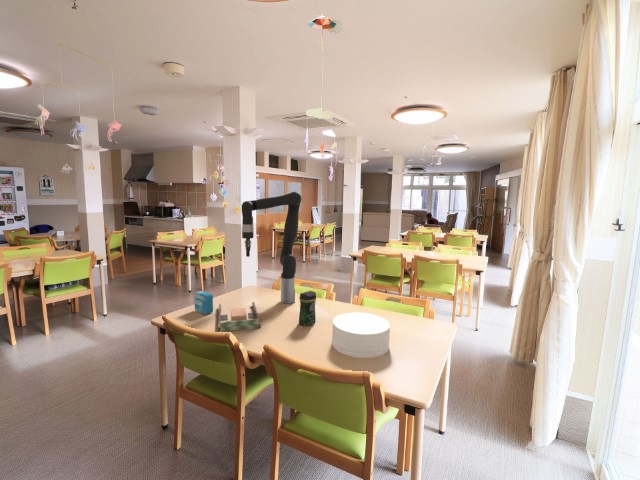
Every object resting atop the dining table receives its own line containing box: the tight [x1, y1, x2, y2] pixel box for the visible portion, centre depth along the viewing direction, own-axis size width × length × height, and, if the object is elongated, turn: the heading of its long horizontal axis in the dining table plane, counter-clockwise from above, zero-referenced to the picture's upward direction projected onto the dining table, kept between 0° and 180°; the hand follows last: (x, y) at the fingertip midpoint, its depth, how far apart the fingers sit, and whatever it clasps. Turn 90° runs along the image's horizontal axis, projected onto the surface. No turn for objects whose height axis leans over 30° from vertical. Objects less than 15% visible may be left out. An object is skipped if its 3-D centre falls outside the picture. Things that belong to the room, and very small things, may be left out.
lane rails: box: [217, 301, 261, 332], centre depth 193 cm, size 22×38×5 cm, turn 16°
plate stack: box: [331, 312, 391, 359], centre depth 162 cm, size 28×28×12 cm
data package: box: [193, 290, 214, 315], centre depth 201 cm, size 12×4×12 cm, turn 57°
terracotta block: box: [230, 307, 248, 321], centre depth 184 cm, size 8×12×7 cm, turn 17°
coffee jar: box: [298, 290, 317, 326], centre depth 186 cm, size 10×8×19 cm
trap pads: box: [221, 312, 256, 321], centre depth 195 cm, size 20×8×1 cm, turn 107°
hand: (247, 256), depth 221 cm, fingers closed
